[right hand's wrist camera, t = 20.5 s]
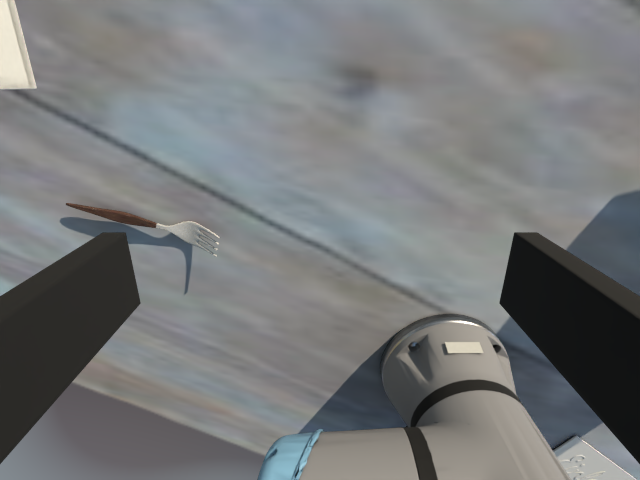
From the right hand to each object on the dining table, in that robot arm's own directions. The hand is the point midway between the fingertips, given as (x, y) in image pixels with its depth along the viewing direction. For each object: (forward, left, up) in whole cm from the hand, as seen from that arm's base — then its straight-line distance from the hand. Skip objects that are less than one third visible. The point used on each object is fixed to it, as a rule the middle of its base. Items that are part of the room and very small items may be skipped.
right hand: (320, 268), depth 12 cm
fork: (-8, +18, -25) cm, 32 cm away
